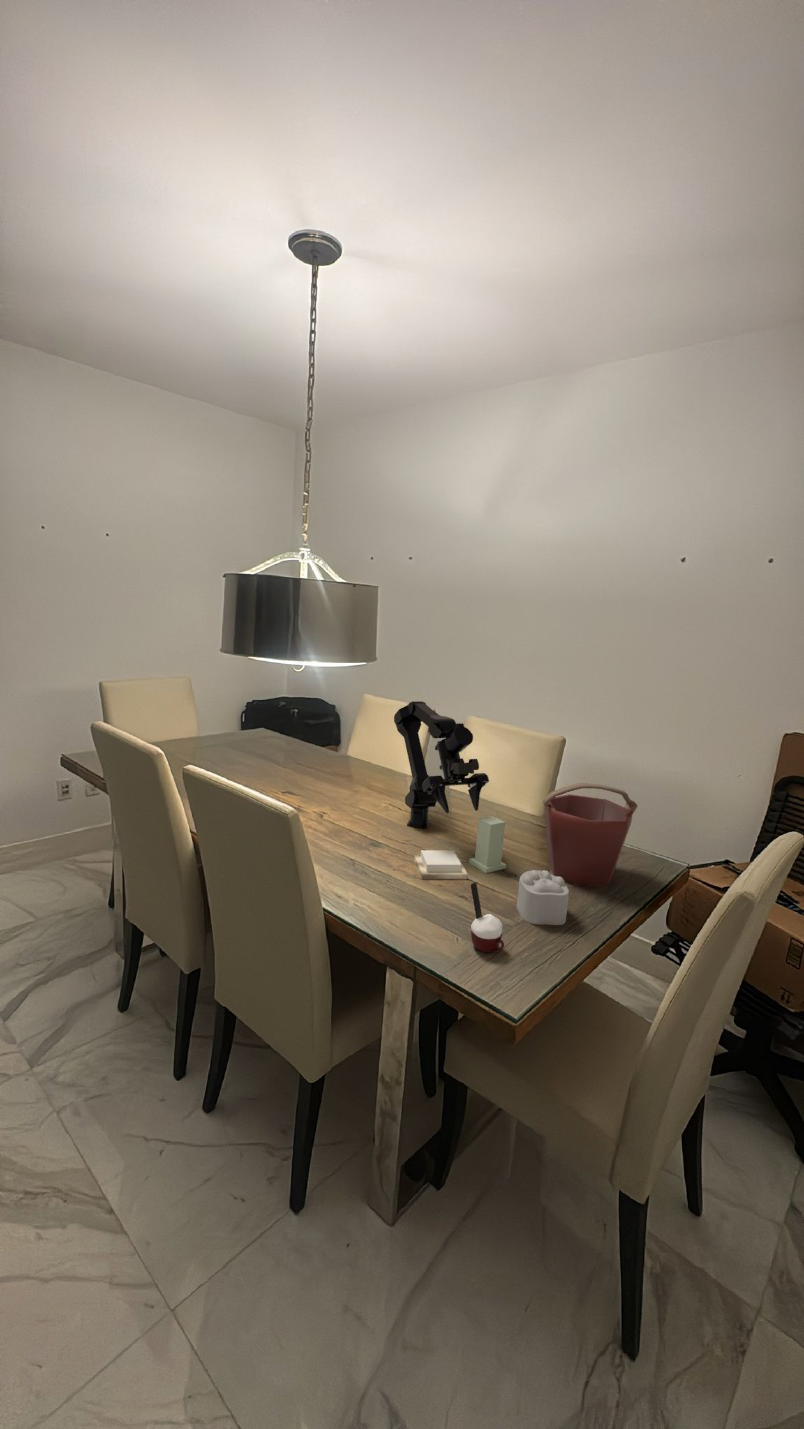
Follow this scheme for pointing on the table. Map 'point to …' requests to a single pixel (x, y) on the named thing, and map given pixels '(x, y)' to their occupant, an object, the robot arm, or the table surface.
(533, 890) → the white paw print block
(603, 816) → the bucket
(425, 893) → the table surface
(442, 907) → the table surface
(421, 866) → the ash base slab
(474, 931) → the cocoa
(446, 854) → the whitewashed top slab
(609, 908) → the table surface
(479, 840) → the sage pillar
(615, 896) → the table surface
